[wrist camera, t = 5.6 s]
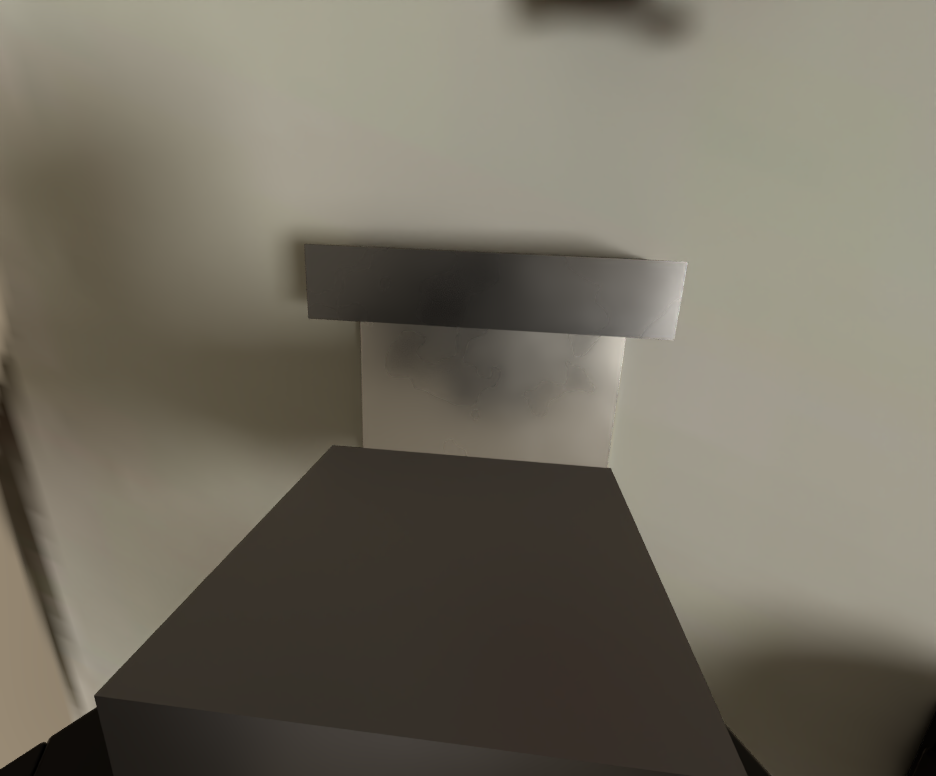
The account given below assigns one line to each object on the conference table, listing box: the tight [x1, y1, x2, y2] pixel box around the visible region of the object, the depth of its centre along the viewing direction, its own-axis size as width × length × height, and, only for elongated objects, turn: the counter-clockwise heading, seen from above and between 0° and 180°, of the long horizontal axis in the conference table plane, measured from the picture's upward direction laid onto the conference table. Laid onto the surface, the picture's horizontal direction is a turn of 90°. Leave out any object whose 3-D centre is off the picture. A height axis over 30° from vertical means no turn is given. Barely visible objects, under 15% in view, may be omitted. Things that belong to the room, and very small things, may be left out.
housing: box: [94, 445, 748, 776], centre depth 7 cm, size 5×6×5 cm
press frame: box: [304, 244, 688, 468], centre depth 17 cm, size 10×22×4 cm, turn 177°
